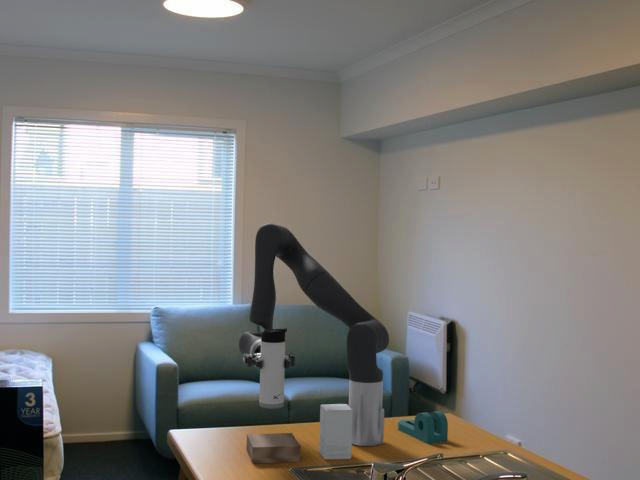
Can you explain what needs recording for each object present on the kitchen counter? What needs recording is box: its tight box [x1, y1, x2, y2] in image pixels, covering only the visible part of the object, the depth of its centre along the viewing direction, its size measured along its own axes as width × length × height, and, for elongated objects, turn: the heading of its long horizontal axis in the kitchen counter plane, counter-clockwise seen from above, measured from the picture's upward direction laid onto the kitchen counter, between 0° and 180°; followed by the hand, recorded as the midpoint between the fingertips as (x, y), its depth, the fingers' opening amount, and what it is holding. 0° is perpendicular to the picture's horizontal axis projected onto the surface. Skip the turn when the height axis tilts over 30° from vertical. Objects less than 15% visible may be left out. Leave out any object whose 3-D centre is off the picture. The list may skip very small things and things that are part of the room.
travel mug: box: [258, 328, 288, 409], centre depth 194 cm, size 6×7×20 cm
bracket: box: [397, 410, 449, 445], centre depth 218 cm, size 18×7×8 cm, turn 25°
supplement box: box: [318, 403, 353, 460], centre depth 195 cm, size 7×7×13 cm
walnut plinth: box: [246, 432, 301, 464], centre depth 194 cm, size 12×12×4 cm
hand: (274, 364), depth 192 cm, fingers closed on travel mug, 6 cm apart
